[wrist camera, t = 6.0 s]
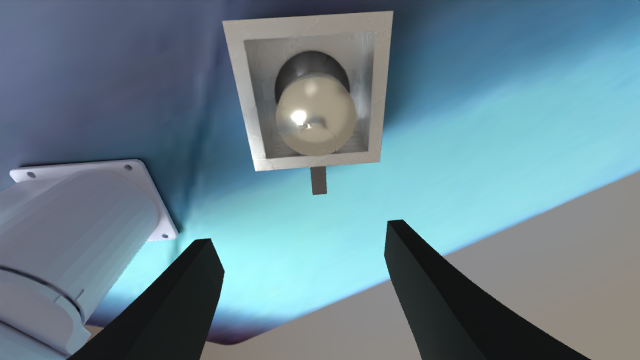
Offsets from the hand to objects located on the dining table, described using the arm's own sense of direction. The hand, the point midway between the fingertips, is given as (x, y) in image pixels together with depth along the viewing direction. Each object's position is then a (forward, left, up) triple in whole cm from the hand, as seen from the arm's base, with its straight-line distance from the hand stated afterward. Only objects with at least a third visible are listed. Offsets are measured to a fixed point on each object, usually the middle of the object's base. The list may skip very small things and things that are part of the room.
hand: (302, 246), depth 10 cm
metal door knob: (+1, +4, -10) cm, 11 cm away
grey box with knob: (+1, +3, -10) cm, 11 cm away
